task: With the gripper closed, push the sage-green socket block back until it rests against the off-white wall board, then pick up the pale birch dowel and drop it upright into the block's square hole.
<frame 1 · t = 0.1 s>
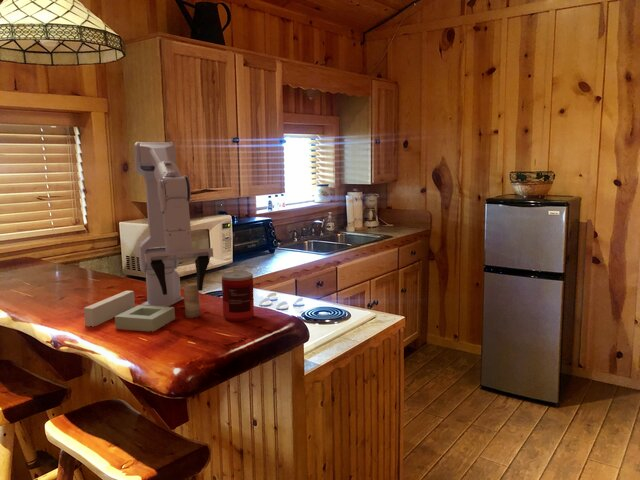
hand: (182, 292, 120), 10 cm above the counter, tool pointing down, fingers open, 7 cm apart
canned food: (238, 317, 136), on the counter
wall board: (111, 316, 138), on the counter
dowel: (192, 315, 138), on the counter
socket block: (146, 323, 132), on the counter
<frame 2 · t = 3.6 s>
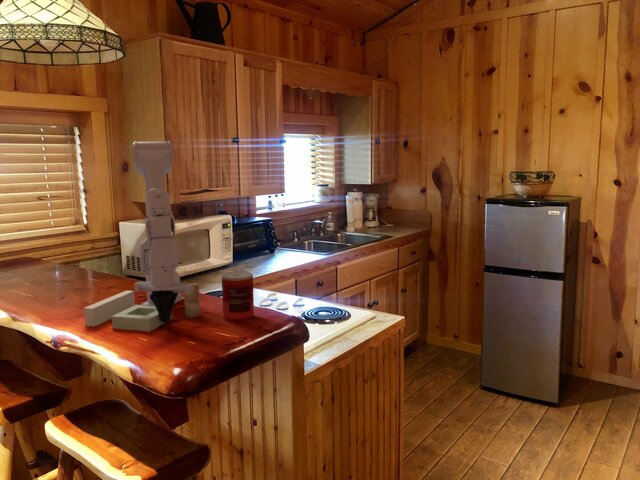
hand: (165, 321, 130), 1 cm above the counter, tool pointing down, fingers closed
socket block: (143, 323, 132), on the counter, touching gripper
everything else where it was.
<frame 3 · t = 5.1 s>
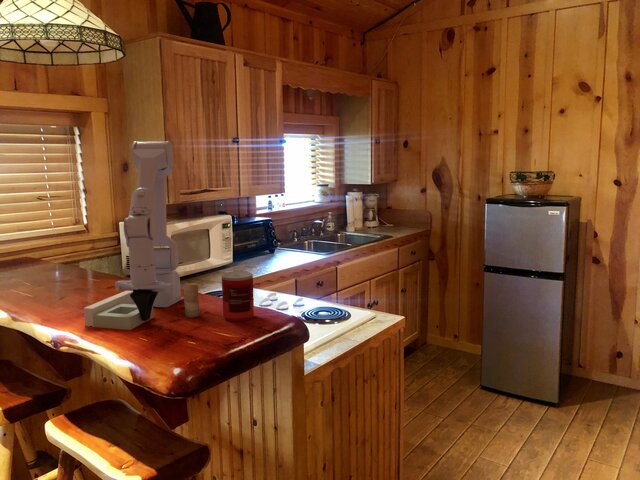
hand: (145, 319, 131), 1 cm above the counter, tool pointing down, fingers closed
socket block: (124, 322, 133), on the counter, touching gripper, wall board
everything else where it was.
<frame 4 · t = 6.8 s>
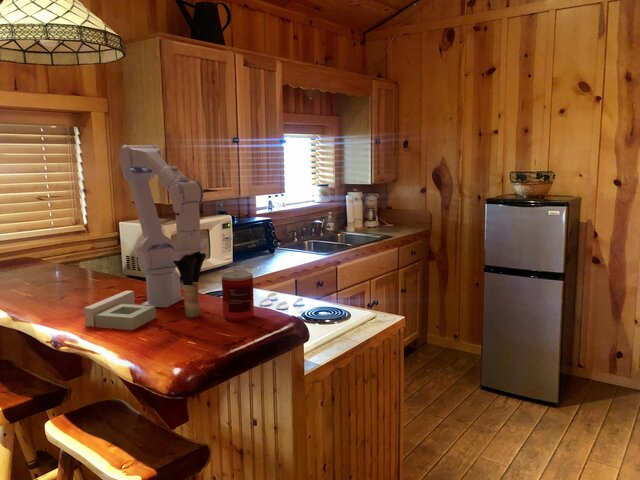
hand: (191, 283, 136), 8 cm above the counter, tool pointing down, fingers open, 3 cm apart
socket block: (126, 322, 133), on the counter
everything else where it was.
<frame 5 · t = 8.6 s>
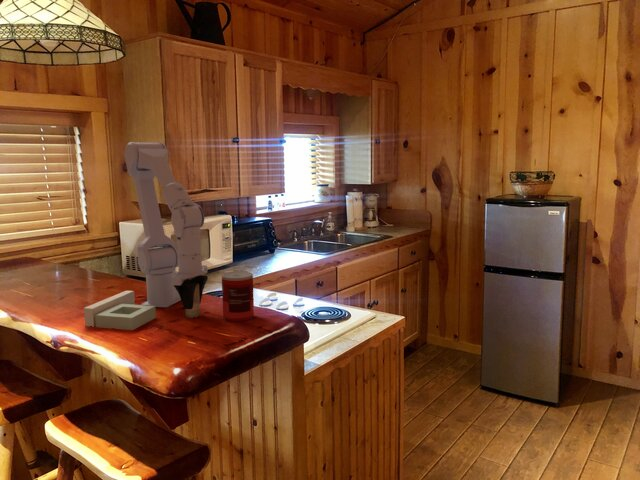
hand: (192, 306, 137), 2 cm above the counter, tool pointing down, fingers closed on dowel, 4 cm apart
dowel: (192, 315, 138), on the counter, touching gripper
everything else where it was.
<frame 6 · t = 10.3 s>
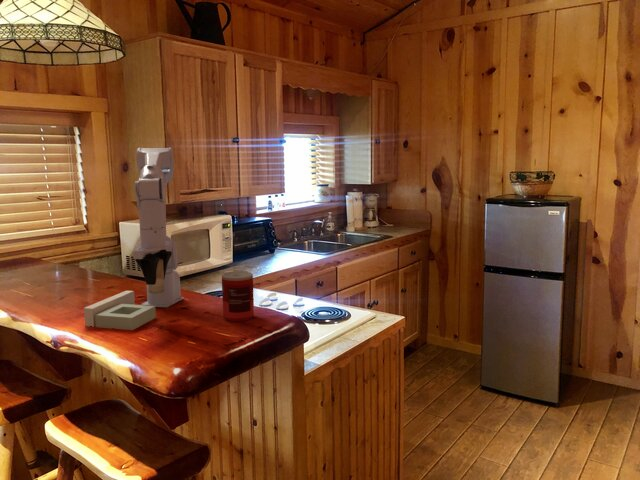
hand: (155, 282, 134), 9 cm above the counter, tool pointing down, fingers closed on dowel, 4 cm apart
dowel: (156, 291, 134), point 7 cm above the counter, touching gripper
everything else where it was.
when the fingers open (4 cm above the counter, at t = 12.3 s): dowel drops 2 cm, resting in socket block.
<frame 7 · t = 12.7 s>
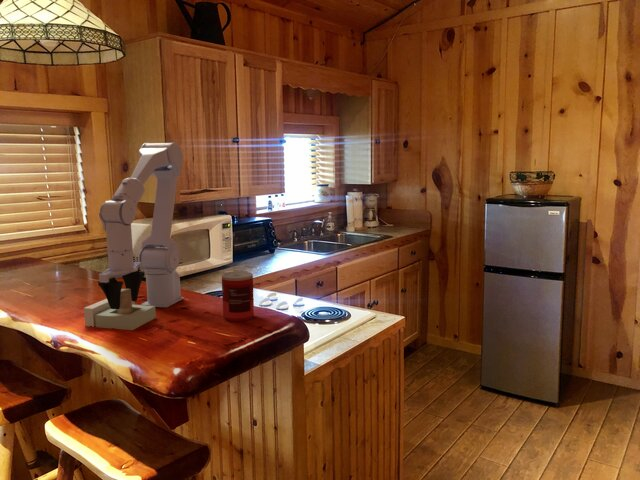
hand: (124, 304, 132), 4 cm above the counter, tool pointing down, fingers open, 7 cm apart
dowel: (126, 322, 133), resting in socket block
everything else where it was.
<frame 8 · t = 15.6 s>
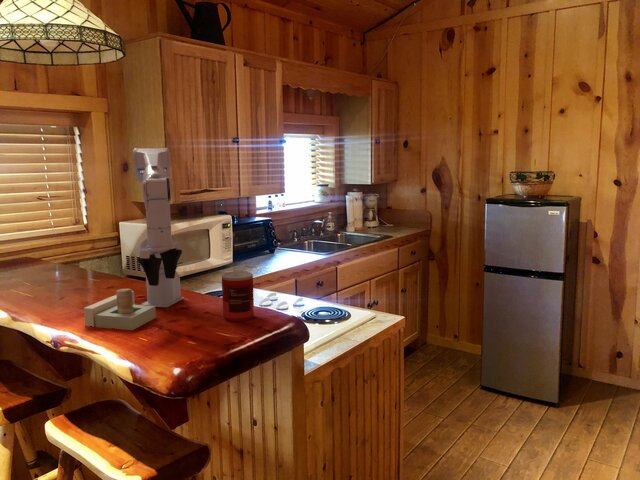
hand: (162, 281, 134), 9 cm above the counter, tool pointing down, fingers open, 7 cm apart
nothing on the counter moved.
at the end: socket block inside the target area (0.5 cm from its centre), on the counter; dowel 0.2 cm from the socket block (horizontally); dowel tilted 0° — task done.
